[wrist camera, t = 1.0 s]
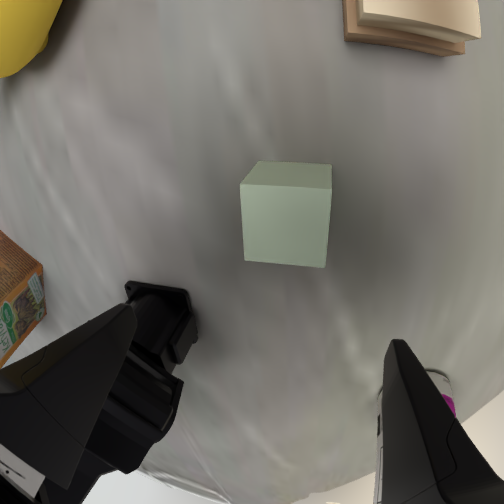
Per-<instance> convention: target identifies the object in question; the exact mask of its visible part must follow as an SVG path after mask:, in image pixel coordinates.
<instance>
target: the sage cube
mask: <svg viewBox="0 0 504 504" xmlns="http://www.w3.org/2000/svg"><path fill="white" fill-rule="evenodd" d="M331 195H332V165H331V164H317V163H300V162H279V161H258V162H257V164H256V165H255V166H254V167H253V168H252V170H251V171H250V172H249V173H248V175H247V176H246V177H245V178H244V179H243V181H242V182H241V183H240V197H241V213H242V229H243V245H244V260H246V261H256V262H267V263H277V264H287V265H298V266H309V267H319V268H325V264H326V255H327V244H328V234H329V222H330V209H331Z"/></svg>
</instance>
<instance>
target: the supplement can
mask: <svg viewBox="0 0 504 504" xmlns="http://www.w3.org/2000/svg"><path fill="white" fill-rule="evenodd" d="M426 372H427V373H428V375H429V376H430V378H431V379H432V381H433V382H434V384H435V385H436V387H437V388H438V390H439V391H440V393H441V394H442V396H443V397H444V399H445V401H446V402H447V404H448V405H449V407H450V408H451V410H452V412H453V413H454V415H455V418H456V413H455V407H454V401H453V395H452V389H451V385H450V382H449V380H448V379H447V378H446V377H444V376H442V375H439V374H438V373H436V372H429V371H426ZM382 392H383V390H382V391H381V393H380V395H379V397H378V433H377V460H376V476H375V489H374V500H373V504H381V496H382V471H383V426H382Z"/></svg>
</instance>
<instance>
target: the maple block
mask: <svg viewBox="0 0 504 504" xmlns="http://www.w3.org/2000/svg"><path fill="white" fill-rule="evenodd" d="M355 2H356V17H357V25H362V26H371V27H378V28H386V29H392V30H398V31H404V32H409V33H414V34H419V35H424V36H428V37H433V38H437V39H441V40H445V41H449V42H452V43H459V42H464V41H469V40H475V39H481V29H480V17H479V7H478V0H355Z"/></svg>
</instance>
